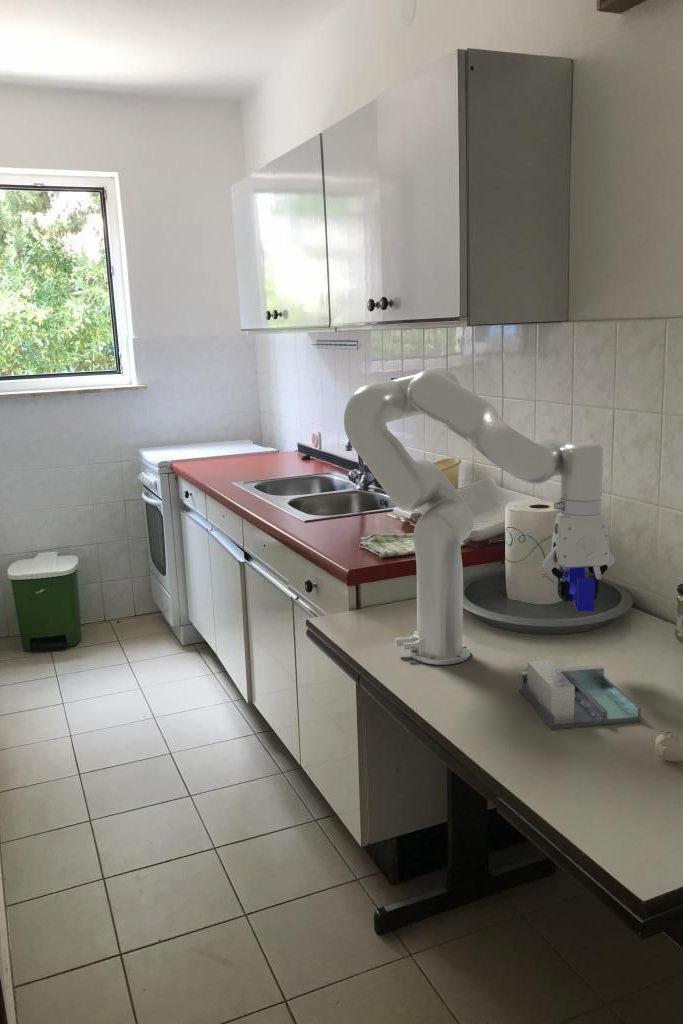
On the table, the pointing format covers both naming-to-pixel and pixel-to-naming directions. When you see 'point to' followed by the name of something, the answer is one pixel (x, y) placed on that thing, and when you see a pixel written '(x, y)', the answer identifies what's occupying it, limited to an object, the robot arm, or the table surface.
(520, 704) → the table surface
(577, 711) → the grey holder tray
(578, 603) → the blue curved block
